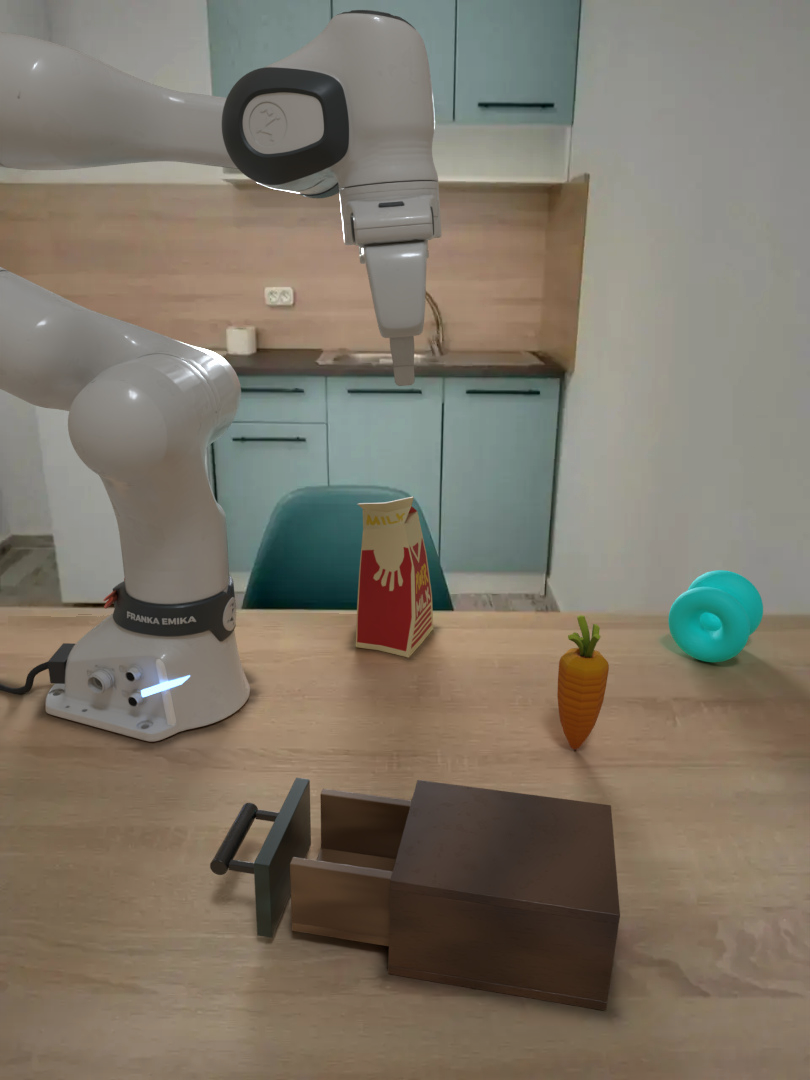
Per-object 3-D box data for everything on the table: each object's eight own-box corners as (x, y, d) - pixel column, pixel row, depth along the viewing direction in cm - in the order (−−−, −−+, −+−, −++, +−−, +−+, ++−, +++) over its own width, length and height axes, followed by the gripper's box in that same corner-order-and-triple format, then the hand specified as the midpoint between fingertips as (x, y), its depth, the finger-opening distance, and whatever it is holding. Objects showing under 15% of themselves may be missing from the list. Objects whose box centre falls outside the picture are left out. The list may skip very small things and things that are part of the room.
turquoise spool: (660, 652, 109) (670, 582, 105) (684, 625, 116) (694, 559, 113) (739, 675, 103) (752, 603, 100) (758, 646, 111) (771, 577, 108)
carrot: (598, 765, 85) (615, 634, 80) (549, 759, 86) (562, 629, 81) (598, 738, 90) (613, 613, 84) (551, 732, 90) (564, 608, 85)
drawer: (204, 927, 63) (198, 855, 61) (251, 835, 73) (248, 770, 70) (447, 967, 60) (452, 893, 58) (463, 867, 70) (467, 800, 67)
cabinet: (388, 974, 61) (390, 880, 58) (414, 863, 71) (417, 779, 68) (606, 1011, 58) (620, 915, 55) (599, 890, 69) (611, 804, 66)
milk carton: (433, 628, 114) (438, 488, 107) (411, 658, 105) (416, 509, 98) (371, 617, 116) (372, 480, 109) (345, 646, 108) (345, 500, 101)
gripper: (359, 226, 84) (371, 364, 89) (352, 221, 65) (369, 397, 69) (421, 221, 84) (430, 359, 89) (433, 214, 65) (444, 391, 69)
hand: (403, 376), depth 79 cm, fingers open, 8 cm apart
